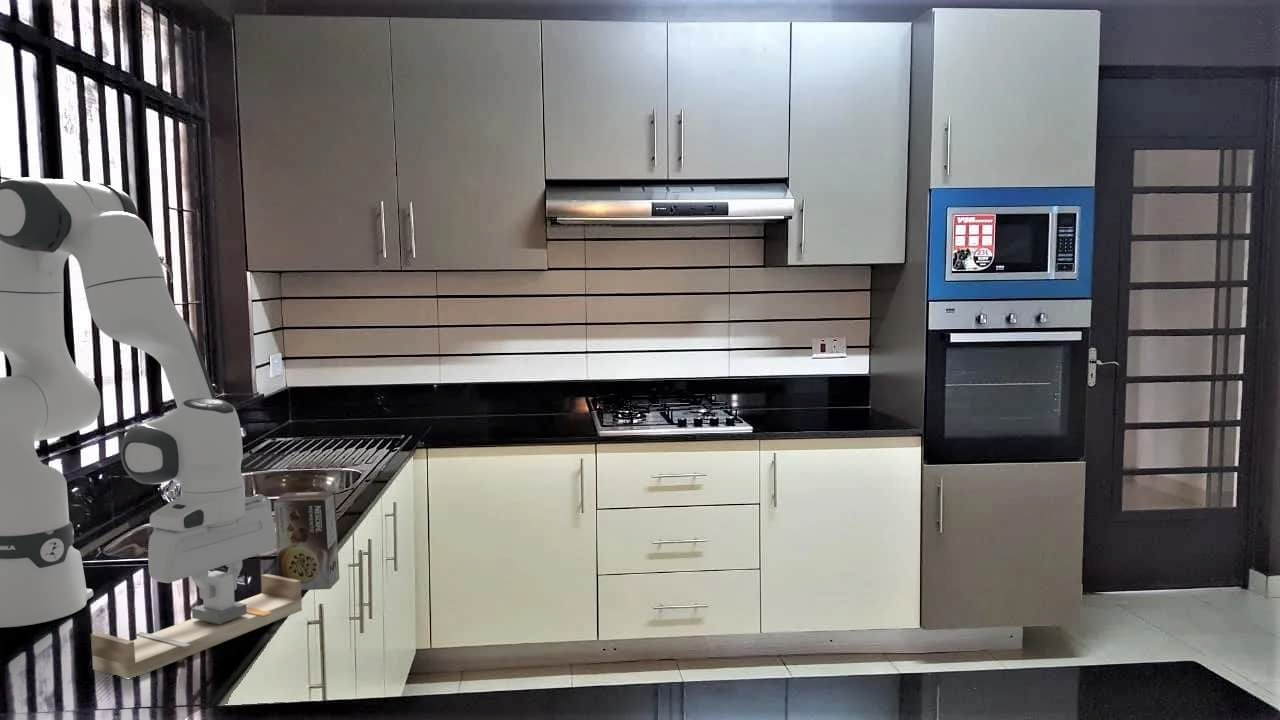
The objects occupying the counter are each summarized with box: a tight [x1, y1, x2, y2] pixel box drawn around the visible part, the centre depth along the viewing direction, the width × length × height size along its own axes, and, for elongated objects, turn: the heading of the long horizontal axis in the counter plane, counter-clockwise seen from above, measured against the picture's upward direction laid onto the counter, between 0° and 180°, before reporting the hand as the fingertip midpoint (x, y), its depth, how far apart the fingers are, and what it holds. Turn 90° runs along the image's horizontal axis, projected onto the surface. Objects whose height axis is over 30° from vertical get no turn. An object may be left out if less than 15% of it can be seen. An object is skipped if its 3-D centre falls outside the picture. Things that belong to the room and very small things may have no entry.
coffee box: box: [273, 490, 340, 591], centre depth 168 cm, size 9×6×16 cm
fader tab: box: [191, 570, 247, 624], centre depth 147 cm, size 6×5×6 cm
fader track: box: [90, 573, 303, 679], centre depth 145 cm, size 11×30×5 cm, turn 152°
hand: (218, 594), depth 147 cm, fingers closed on fader tab, 2 cm apart
